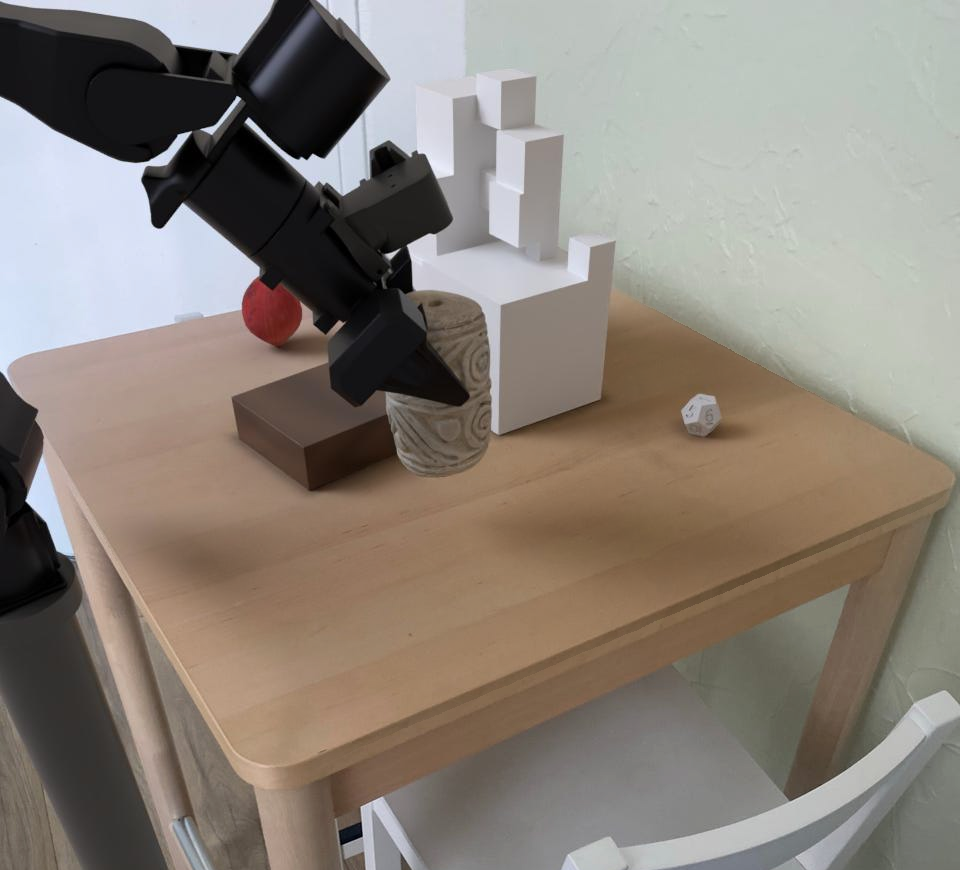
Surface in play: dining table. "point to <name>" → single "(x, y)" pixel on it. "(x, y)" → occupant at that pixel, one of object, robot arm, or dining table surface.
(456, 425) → the carving
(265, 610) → the dining table surface
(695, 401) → the game die
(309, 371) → the walnut block
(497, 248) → the building blocks
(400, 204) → the robot arm
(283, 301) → the onion
